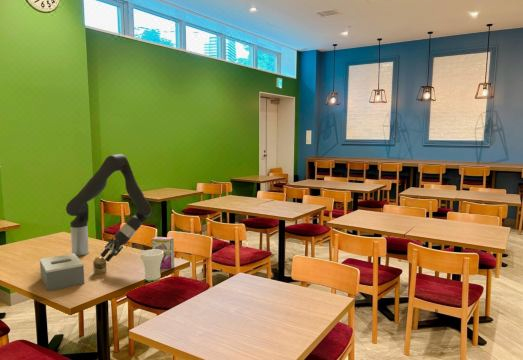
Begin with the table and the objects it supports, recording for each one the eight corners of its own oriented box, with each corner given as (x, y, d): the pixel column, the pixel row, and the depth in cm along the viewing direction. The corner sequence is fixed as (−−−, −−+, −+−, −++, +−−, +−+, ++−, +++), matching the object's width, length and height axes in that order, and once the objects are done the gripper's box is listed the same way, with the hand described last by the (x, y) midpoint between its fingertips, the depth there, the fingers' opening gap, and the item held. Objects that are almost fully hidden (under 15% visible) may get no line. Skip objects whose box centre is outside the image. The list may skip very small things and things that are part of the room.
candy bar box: (151, 268, 210) (151, 239, 208) (155, 264, 215) (154, 236, 213) (171, 268, 209) (171, 239, 207) (174, 265, 214) (174, 237, 212)
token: (93, 273, 201) (92, 258, 200) (105, 271, 205) (104, 255, 204) (94, 274, 199) (93, 259, 198) (106, 272, 203) (106, 257, 202)
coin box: (41, 278, 194) (39, 259, 193) (75, 271, 204) (74, 253, 203) (47, 291, 179) (46, 270, 177) (84, 283, 188) (83, 263, 187)
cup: (157, 273, 202) (156, 247, 200) (168, 279, 194) (167, 252, 192) (137, 279, 194) (136, 252, 192) (147, 285, 186) (147, 257, 184)
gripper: (115, 227, 212) (94, 251, 206) (124, 232, 201) (102, 258, 195) (125, 235, 216) (105, 258, 210) (134, 241, 204) (113, 266, 199)
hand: (104, 258), depth 203 cm, fingers open, 8 cm apart
